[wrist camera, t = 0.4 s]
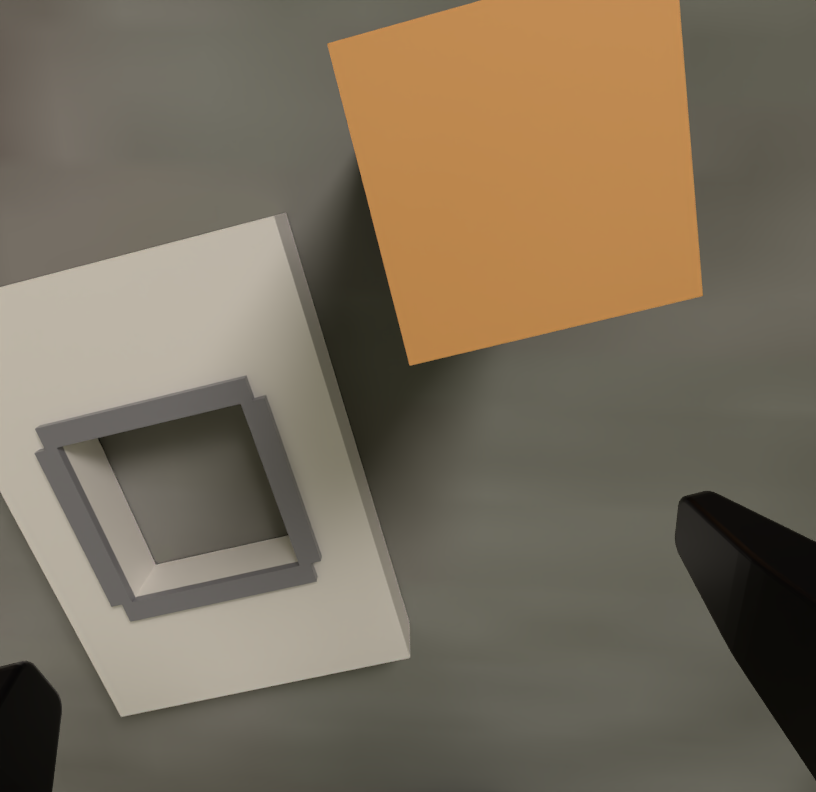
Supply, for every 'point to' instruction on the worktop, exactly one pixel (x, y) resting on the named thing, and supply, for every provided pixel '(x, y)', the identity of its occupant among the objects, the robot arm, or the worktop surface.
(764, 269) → the worktop surface
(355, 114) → the plug
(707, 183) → the worktop surface
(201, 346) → the socket plate
